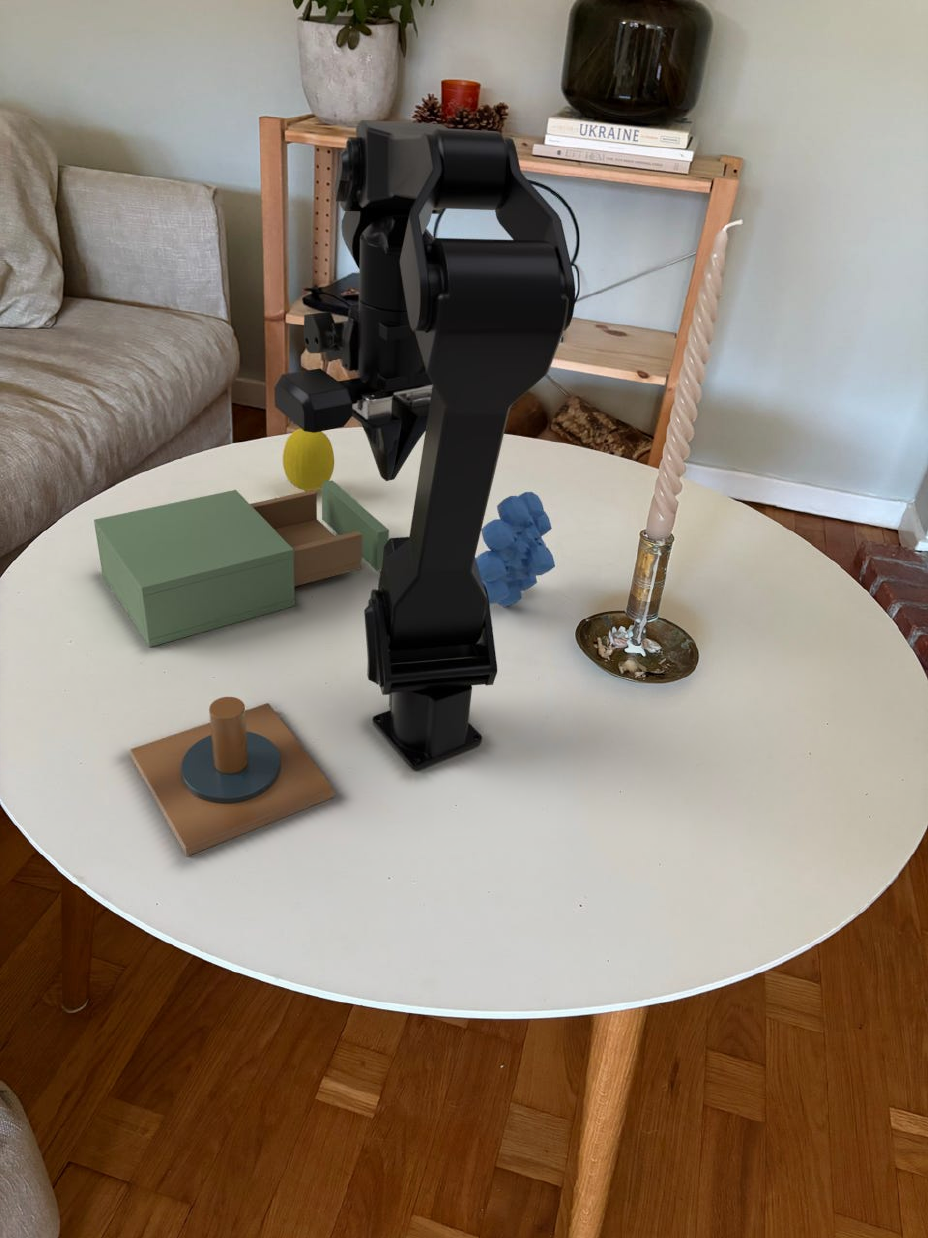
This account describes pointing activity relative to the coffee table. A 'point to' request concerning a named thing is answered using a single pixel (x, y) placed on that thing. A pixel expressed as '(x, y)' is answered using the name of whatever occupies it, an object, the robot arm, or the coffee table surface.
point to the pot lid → (230, 758)
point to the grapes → (515, 549)
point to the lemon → (308, 459)
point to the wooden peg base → (222, 821)
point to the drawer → (325, 532)
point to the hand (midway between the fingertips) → (387, 478)
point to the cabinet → (195, 565)
